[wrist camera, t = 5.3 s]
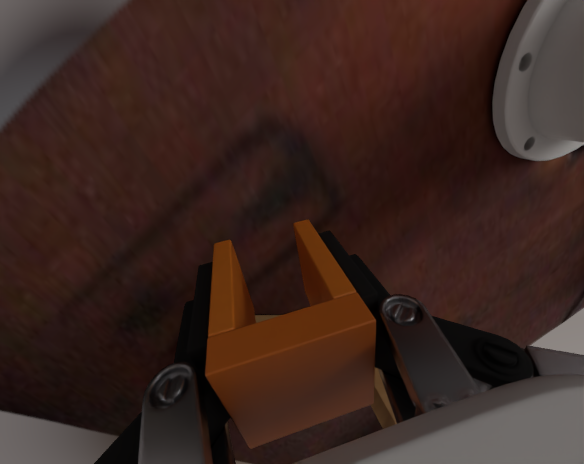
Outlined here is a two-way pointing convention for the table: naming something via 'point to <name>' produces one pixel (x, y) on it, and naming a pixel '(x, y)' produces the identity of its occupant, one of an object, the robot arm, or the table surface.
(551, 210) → the table surface
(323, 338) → the clip
